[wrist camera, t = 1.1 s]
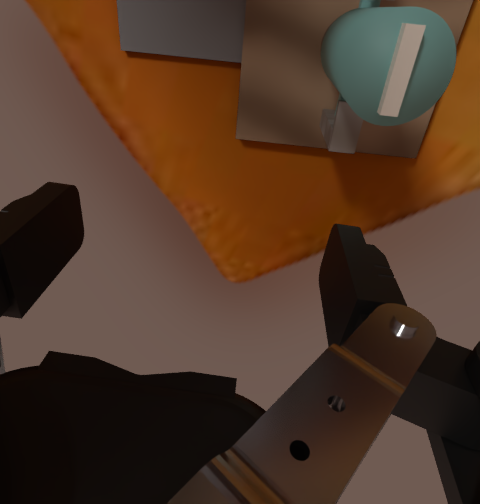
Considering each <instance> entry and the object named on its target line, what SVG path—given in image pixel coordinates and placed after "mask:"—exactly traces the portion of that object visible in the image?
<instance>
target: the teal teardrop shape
mask: <svg viewBox="0 0 480 504" xmlns="http://www.w3.org/2000/svg"><path fill="white" fill-rule="evenodd" d="M380 2H381V0H360V3H359V7H358V8H356V9H353V10H350V11H348V12H346V13H344V14H343V15H341V16H340V17H339V18H337V19H336V20H335V21H334V22H333V24H332V25H331V26H330V28H329V29H328V31H327V33H326V35H325V37H324V40H323V43H322V47H321V63H322V67H323V69H324V72H325V74H326V75H327V77H328V78H329V79H330V81H331V82H332V83H333V85H334V86H335V87H336V89H337V90H338V91H339V98H338V101H339V100H343V101H346V102H347V103H348V105H349V106H350V107H351V109H352V110H353V111H354V112H355V113H356V114H357V115H358V116H359V117H360V118H362V119H363V120H365V121H367V122H369V123H372V124H375V125H380V126H395V125H400V124H404V123H407V122H409V121H412V120H414V119H416V118H417V117H419V116H421V115H422V114H424V113H425V112H426V111H428V110H429V109H430V108H431V107H432V106H433V105H434V104H435V103H436V102H437V101H438V100H439V99H440V97H441V96H442V94H443V93H444V92H445V90H446V88H447V86H448V84H449V82H450V80H451V78H452V75H453V71H454V68H455V62H456V44H455V40H454V36H453V34H452V31H451V29H450V28H449V26H448V24H447V23H446V22H445V21H444V19H443V18H441V17H440V16H439V15H438V14H436V13H435V12H433V11H431V10H428V9H425V8H421V7H379V6H380ZM337 106H338V102H337ZM336 110H337V107H336ZM335 115H336V112H335Z"/></svg>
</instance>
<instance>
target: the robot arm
mask: <svg viewBox="0 0 480 504" xmlns="http://www.w3.org/2000/svg"><path fill="white" fill-rule="evenodd" d="M83 238H84V226H83V219H82V211H81V205H80V197H79V192H78V189H77V188H76V186H74V185H67V184H61V183H53V182H47V183H46V184H45V185H43V186H42V187H40V188H39V189H38V190H36V191H35V192H34V193H33V194H31V195H28V196H25V197H23V198H20V199H18V200H15V201H13V202H11V203H10V204H9V205H7V206H6V207H4V208H3V209H2V210H1V212H0V317H1V316H8V317H15V318H22V317H23V316H24V315H25V313H27V311H28V310H29V309H30V308H31V307H32V305H33V304H34V303H35V302H36V301H37V299H38V298H39V297H40V296H41V294H42V293H43V292H44V291H45V290H46V288H47V287H48V286H49V285H50V284H51V282H52V281H53V280H54V279H55V278H56V276H57V275H58V274H59V273H60V272H61V270H62V269H63V268H64V267H65V266H66V264H67V263H68V262H69V261H70V259H71V258H72V257H73V256H74V255H75V253H76V252H77V251H78V250H79V249H80V247H81V245H82V242H83ZM319 287H320V294H321V300H322V307H323V313H324V319H325V326H326V332H327V339H328V346H329V347H328V349H326V350H325V351H324V353H323V354H322V355H321V356H320V357H319V358H318V359H317V360H316V361H315V362H314V363H313V364H312V365H311V366H310V367H309V368H308V369H307V370H306V371H305V372H304V373H303V374H302V375H301V376H300V377H299V378H298V379H297V380H296V381H295V382H294V383H293V384H292V386H291V387H290V388H289V389H288V390H287V391H286V392H285V393H284V394H283V395H282V396H281V397H280V398H279V399H278V400H277V401H276V402H275V403H274V404H273V405H272V406H271V407H270V408H269V409H268V410H267V411H265V410H264V409H262V408H261V407H260V406H258V405H257V404H255V403H254V402H252V401H251V400H249V399H247V398H245V397H243V396H241V395H238V394H236V393H235V390H236V389H235V388H236V380H237V379H236V378H230V377H223V376H216V375H209V374H203V373H196V372H179V373H166V374H151V375H137V374H134V373H132V372H129V371H127V370H124V369H122V368H119V367H117V366H114V365H112V364H110V363H107V362H105V361H102V360H100V359H97V358H94V357H87V356H80V355H74V354H67V353H60V352H53V351H49V352H48V354H47V355H46V357H45V358H44V359H43V361H42V362H41V364H40V365H39V366H32V367H26V368H20V369H17V370H13V371H9V372H6V373H5V367H4V359H3V352H2V345H1V338H0V504H336V503H337V502H338V500H339V499H340V497H341V495H342V493H343V492H344V490H345V489H346V487H347V485H348V484H349V482H350V480H351V479H352V477H353V476H354V474H355V472H356V471H357V469H358V467H359V465H360V464H361V462H362V461H363V459H364V458H365V456H366V454H367V453H368V451H369V449H370V448H371V446H372V444H373V443H374V441H375V440H376V438H377V436H378V435H379V433H380V431H381V430H382V428H383V426H384V425H385V423H386V422H387V420H388V418H389V417H390V415H391V414H393V415H395V416H397V417H400V418H402V419H404V420H406V421H409V422H411V423H413V424H415V425H418V426H420V427H422V428H424V429H426V430H427V433H428V437H429V440H430V443H431V447H432V450H433V454H434V457H435V461H436V464H437V467H438V470H439V474H440V477H441V481H442V484H443V487H444V491H445V494H446V498H447V501H448V504H480V342H478V344H477V345H476V346H475V348H474V349H473V351H472V350H469V349H467V348H464V347H461V346H458V345H456V344H453V343H450V342H447V341H445V340H443V339H440V338H438V337H436V331H435V328H434V326H433V325H432V323H431V322H430V321H429V320H428V319H427V318H426V317H425V316H423V315H422V314H421V313H419V312H417V311H416V310H414V309H412V308H410V307H407V304H406V302H405V300H404V298H403V295H402V293H401V291H400V288H399V286H398V284H397V282H396V280H395V278H394V275H393V273H392V270H391V269H390V266H389V263H388V261H387V259H386V257H385V255H384V254H383V253H382V252H381V251H380V250H379V249H378V248H376V247H375V246H374V245H370V244H366V242H365V240H364V237H363V234H362V232H361V229H360V228H359V227H355V226H348V225H341V224H334V225H333V227H332V230H331V233H330V236H329V239H328V243H327V246H326V249H325V253H324V256H323V259H322V263H321V267H320V273H319Z"/></svg>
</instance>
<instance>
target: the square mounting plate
mask: <svg viewBox="0 0 480 504" xmlns="http://www.w3.org/2000/svg"><path fill="white" fill-rule="evenodd" d="M472 2H473V0H381V2H380V6H379V7H421V8H425V9H428V10H431V11H433V12H435V13H436V14H438V15H439V16H440V17H441V18H443V19H444V21H445V22H446V23H447V24H448V26H449V28H450V29H451V31H452V34H453V36H454V40H455V44H456V46H457V43H458V41H459V38H460V35H461V32H462V30H463V27H464V24H465V21H466V19H467V16H468V13H469V10H470V8H471V5H472ZM359 3H360V0H246V11H245V24H244V37H243V50H242V63H241V76H240V89H239V102H238V115H237V128H236V139H243V140H252V141H261V142H270V143H279V144H288V145H297V146H307V147H316V148H325V149H328V150H329V151H333V152H342V153H351V154H354V153H355V152H361V153H370V154H379V155H388V156H397V157H406V158H416V156H417V154H418V151H419V148H420V145H421V143H422V140H423V137H424V134H425V132H426V129H427V126H428V123H429V121H430V118H431V115H432V112H433V110H434V107H435V104H436V103H435V104H434V105H433V106H432V107H431V108H430V109H429V110H428V111H426V112H425V113H424V114H422V115H421V116H419V117H417V118H416V119H414V120H412V121H409V122H407V123H404V124H400V125H395V126H380V125H375V124H372V123H369V122H367V121H365V120H363V119H362V118H360V117H359V116H358V115H357V114H356V113H355V112H354V111H353V110H352V109H351V107H350V106H349V105H348V103H347V102H346V101H343V100H339V101H338V98H339V91H338V90H337V89H336V87H335V86H334V85H333V83H332V82H331V81H330V79H329V78H328V77H327V75H326V74H325V72H324V69H323V67H322V63H321V47H322V43H323V40H324V37H325V35H326V33H327V31H328V29H329V28H330V26H331V25H332V24H333V22H334V21H335V20H336V19H337V18H339V17H340V16H341V15H343V14H344V13H346V12H348V11H350V10H353V9H356V8H358V7H359ZM337 102H338V106H337ZM336 107H337V110H336ZM335 112H336V115H335Z"/></svg>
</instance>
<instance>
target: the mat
mask: <svg viewBox="0 0 480 504" xmlns="http://www.w3.org/2000/svg"><path fill="white" fill-rule="evenodd" d="M117 9H118V21H119V32H120V44H121V50H124V51H134V52H143V53H153V54H162V55H172V56H181V57H191V58H200V59H210V60H219V61H229V62H238V63H242V50H243V37H244V24H245V11H246V0H117Z"/></svg>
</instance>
